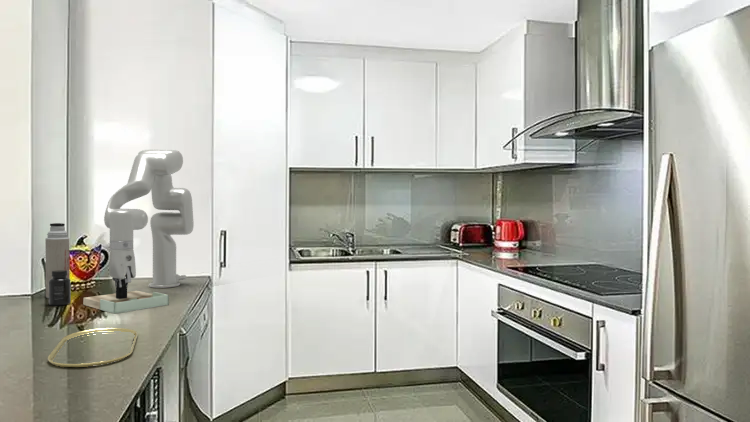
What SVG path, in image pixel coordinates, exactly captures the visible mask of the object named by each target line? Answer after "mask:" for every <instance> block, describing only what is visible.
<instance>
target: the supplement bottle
mask: <svg viewBox="0 0 750 422" xmlns="http://www.w3.org/2000/svg"><path fill="white" fill-rule="evenodd" d="M71 294H72V293H71V279H69V278H67V270H56V271H52V279H50V280H49V298H48V304H49V306H52V307H57V306H58V307H59V306H67V305H70V304H71V302H72V301H71V300H72V299H71Z"/></svg>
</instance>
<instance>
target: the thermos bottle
mask: <svg viewBox="0 0 750 422" xmlns="http://www.w3.org/2000/svg"><path fill="white" fill-rule="evenodd" d="M49 226H50V228H49V229H50V230H49V231H48V232H47V234H46V235H47V237H46V238H45V298H47V299H49V280H50V279H52V271H56V270H67V278H69V279H70V276H71V274H70V273H71V271H70V268H71V267H70V237H69V236H68V231H66V230H65V229H66V227H65V223H62V222H61V223H60V222H57V223H56V222H55V223H50V224H49ZM70 280H71V279H70Z"/></svg>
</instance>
